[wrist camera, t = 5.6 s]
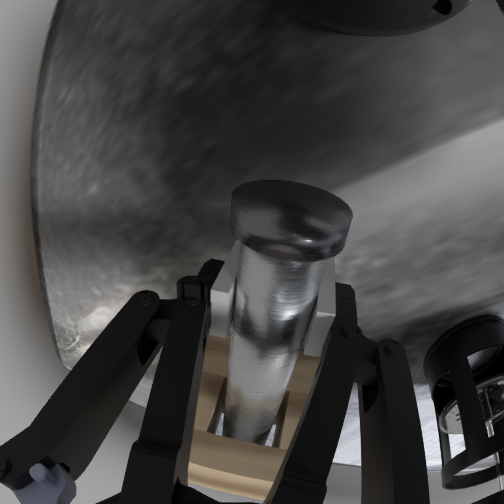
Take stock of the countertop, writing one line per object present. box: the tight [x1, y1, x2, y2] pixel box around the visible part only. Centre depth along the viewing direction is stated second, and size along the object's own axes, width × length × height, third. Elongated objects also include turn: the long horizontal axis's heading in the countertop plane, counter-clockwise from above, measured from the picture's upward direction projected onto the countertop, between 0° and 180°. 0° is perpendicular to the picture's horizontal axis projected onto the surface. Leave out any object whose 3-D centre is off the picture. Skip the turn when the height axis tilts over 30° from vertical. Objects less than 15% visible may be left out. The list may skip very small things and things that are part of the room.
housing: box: [188, 332, 322, 500], centre depth 22 cm, size 6×10×12 cm, turn 84°
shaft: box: [222, 180, 353, 445], centre depth 17 cm, size 21×5×5 cm, turn 174°
